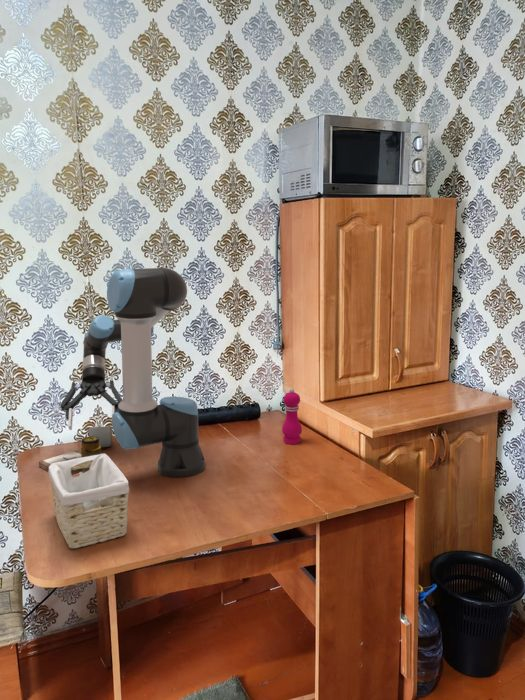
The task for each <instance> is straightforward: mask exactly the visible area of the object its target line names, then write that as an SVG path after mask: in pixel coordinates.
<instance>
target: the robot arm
mask: <svg viewBox="0 0 525 700" xmlns="http://www.w3.org/2000/svg"><path fill="white" fill-rule="evenodd" d="M187 294H188V286H187V283H186V281H185V278H183V277H182V275H180V273H178V272H177V271H175V270H174V269H172V268H169V267H153V268H152V267H151V268H147V267H145V268H126V269H118V270H116V271H114V272H113V273H112V274H111V276H110V277H109V280H108V283H107V289H106V300H107V305H108V308H109V310H110V311H111V312H114V316H115V318H116V319H113V318H111V317H110V316H109V315H104V314H102V315H101V314H100V315H97V316H95V317H93V319H92V321H91V323H90V325H89V327H88V332H86V333H84V337H83V338H84V339H83V343H82V344H83V355H82V357H83V358H82V371H81V372H82V373H81V383H80V384H79V383H76V382H72V383H71V388H70V389H69V391H68V392H67V394H66V395H65V397H64V399H63V400H62V402H61V403H60V409H61V411H65V414H64V415H65V419H66V421H67V422H68V423H67V427H68V430H69V431H72V429H73V418H74V417H73V416H74V411H73V410H74V408H75V407H77V405H78V404H79V403H80V402H81V401H83V399H85V398H87V397H98V396H101V397H102V398H104V399H105V400H106V401H107V402H108V403H109V404H110V405H111V428H112V432H113V433H114V437H115V439H116V441H117V443H118V444H119V445H120V447H121V448H123V449H124V450H133V449H141V448H143V447H147V446H152V445H156V444H160V443H161V444H162V445H161V450H160V453H159V454H160V455H159V459H158V462H157V471H158V473H159V474H161V475H163V476H166V477H169V478H170V477H171V478H184V477H185V478H186V477H190V476H194V475H197V474H199V473H202V472H203V471H204V470H205V468H206V460H205V457H204V453H203V451H202V448H201V446H200V442H199V441H200V438H199V436H200V435H199V434H200V433H199V411H198V404H197V402H196V401H195V400H194V399H191V398H187V397H184V396H183V397H182V396H165V397H161V398H160V401H159V404H158V402H157V400H155V398H153V365H152V364H153V363H152V361H153V360H152V359H153V358H152V357H153V356H152V354H153V352H152V350H153V349H152V336H153V334H154V329H155V325H156V324H158V323H159V321H161V320H162V319H163V318H164V317H165V316H166V315H167V314H168V313H169V312H172V311H176V310H178V309H179V307H181V306H182V305H183V304H184V302H185V301H186V298H187V297H188V295H187ZM113 342H121V343H120V344H121V364H122V365H121V370H122V371H121V372H122V374H121V375H122V397H123V398H122V397H121V395H120V393H119V392H118V390H117V388H116V387H115V382H114V380H110V381H109V382H106V353H107V347H108V345H109V343H113ZM106 388H108V389H109V390H111V393H112V395H113V396H114V397H115V399H116V400H115V399H114V398H113V397H112V396H111V395H110V394H109V393H108V392H107V391H106V390H105V389H106ZM79 389H80V391H79ZM78 391H79V393H78V394H77V395H75V394H76V392H78ZM74 396H75V397H74Z"/></svg>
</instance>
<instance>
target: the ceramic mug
mask: <svg viewBox="0 0 525 700" xmlns="http://www.w3.org/2000/svg"><path fill="white" fill-rule="evenodd" d="M90 436H94V437H98V438H99V445H100V446H101V449H102V448H109V447H111V446H113V440H114V439H113V427H112V426H91V427H88V437H90Z"/></svg>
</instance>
